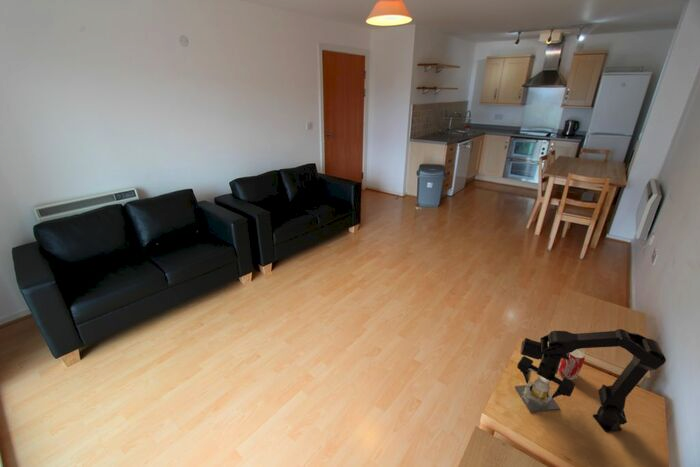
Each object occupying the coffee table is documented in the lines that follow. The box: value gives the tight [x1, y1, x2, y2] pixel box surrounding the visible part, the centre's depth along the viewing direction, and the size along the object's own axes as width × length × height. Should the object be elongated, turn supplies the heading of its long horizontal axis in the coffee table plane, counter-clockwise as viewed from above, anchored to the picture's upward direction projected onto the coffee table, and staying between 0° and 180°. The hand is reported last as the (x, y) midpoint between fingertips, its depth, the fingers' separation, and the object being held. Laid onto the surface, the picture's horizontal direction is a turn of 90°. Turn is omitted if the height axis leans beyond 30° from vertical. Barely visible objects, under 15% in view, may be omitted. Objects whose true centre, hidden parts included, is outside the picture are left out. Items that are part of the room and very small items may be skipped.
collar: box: [514, 381, 561, 413], centre depth 130 cm, size 11×12×4 cm
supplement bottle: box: [531, 375, 551, 399], centre depth 128 cm, size 5×5×10 cm
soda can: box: [558, 349, 586, 381], centre depth 139 cm, size 7×7×13 cm
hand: (539, 390), depth 129 cm, fingers open, 9 cm apart
